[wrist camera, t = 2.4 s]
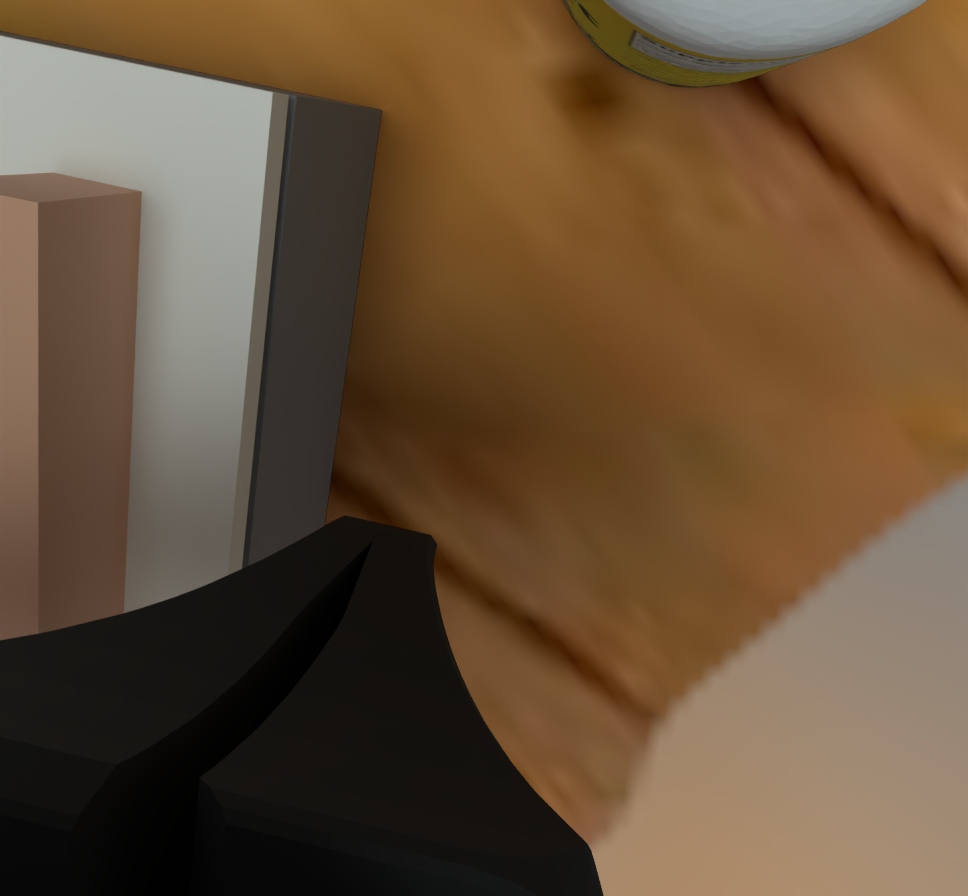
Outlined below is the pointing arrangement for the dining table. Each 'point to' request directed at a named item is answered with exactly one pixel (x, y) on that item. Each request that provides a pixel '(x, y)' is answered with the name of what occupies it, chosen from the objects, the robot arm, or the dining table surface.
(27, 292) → the lid
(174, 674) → the robot arm
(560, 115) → the dining table surface
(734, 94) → the dining table surface
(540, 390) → the dining table surface
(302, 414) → the gray open box
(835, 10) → the supplement bottle
